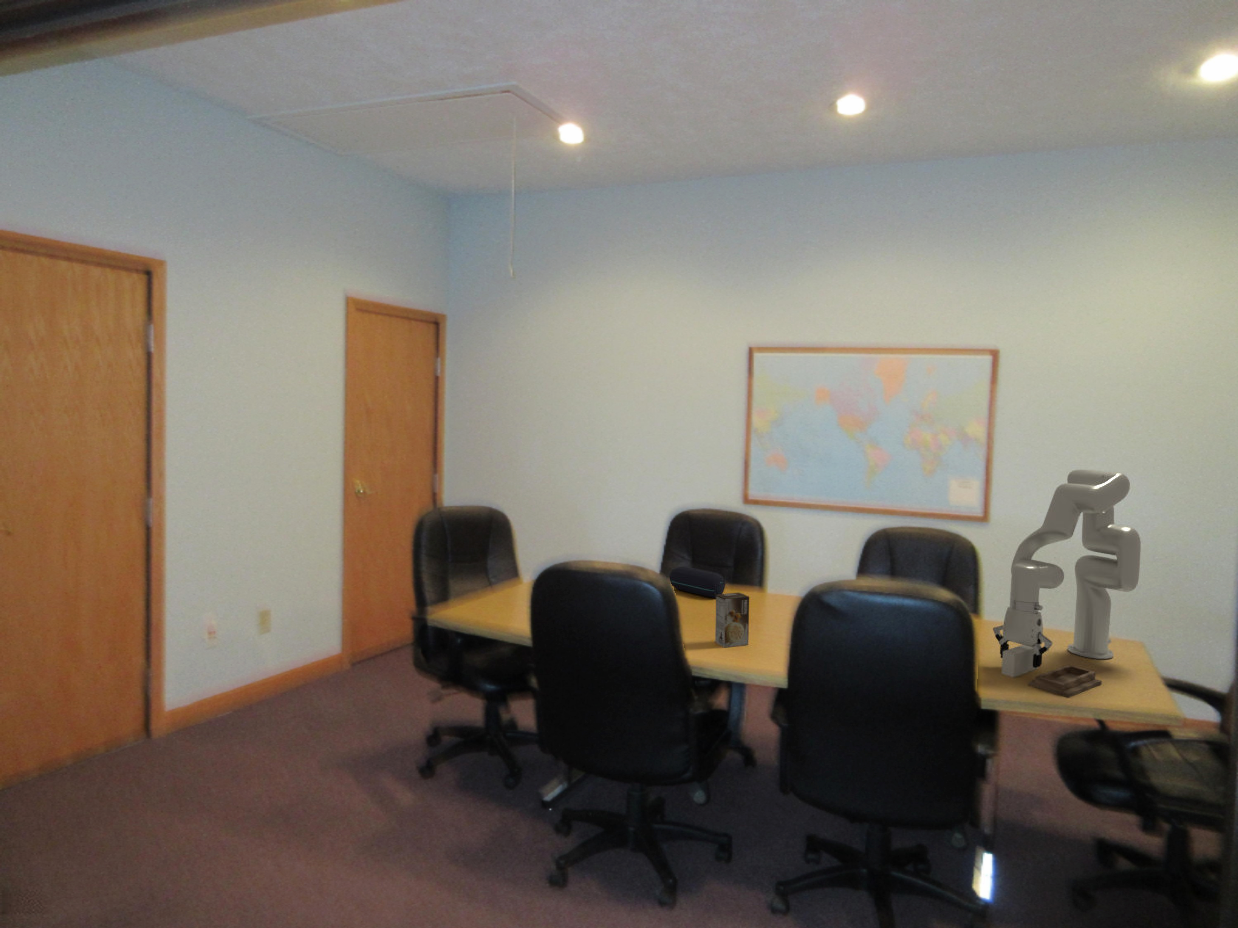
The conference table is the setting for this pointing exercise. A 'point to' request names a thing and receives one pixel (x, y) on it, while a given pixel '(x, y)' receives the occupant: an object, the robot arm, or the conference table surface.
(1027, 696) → the conference table surface
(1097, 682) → the rack
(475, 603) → the conference table surface
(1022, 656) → the light grey block
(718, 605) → the coffee box
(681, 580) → the portable speaker
